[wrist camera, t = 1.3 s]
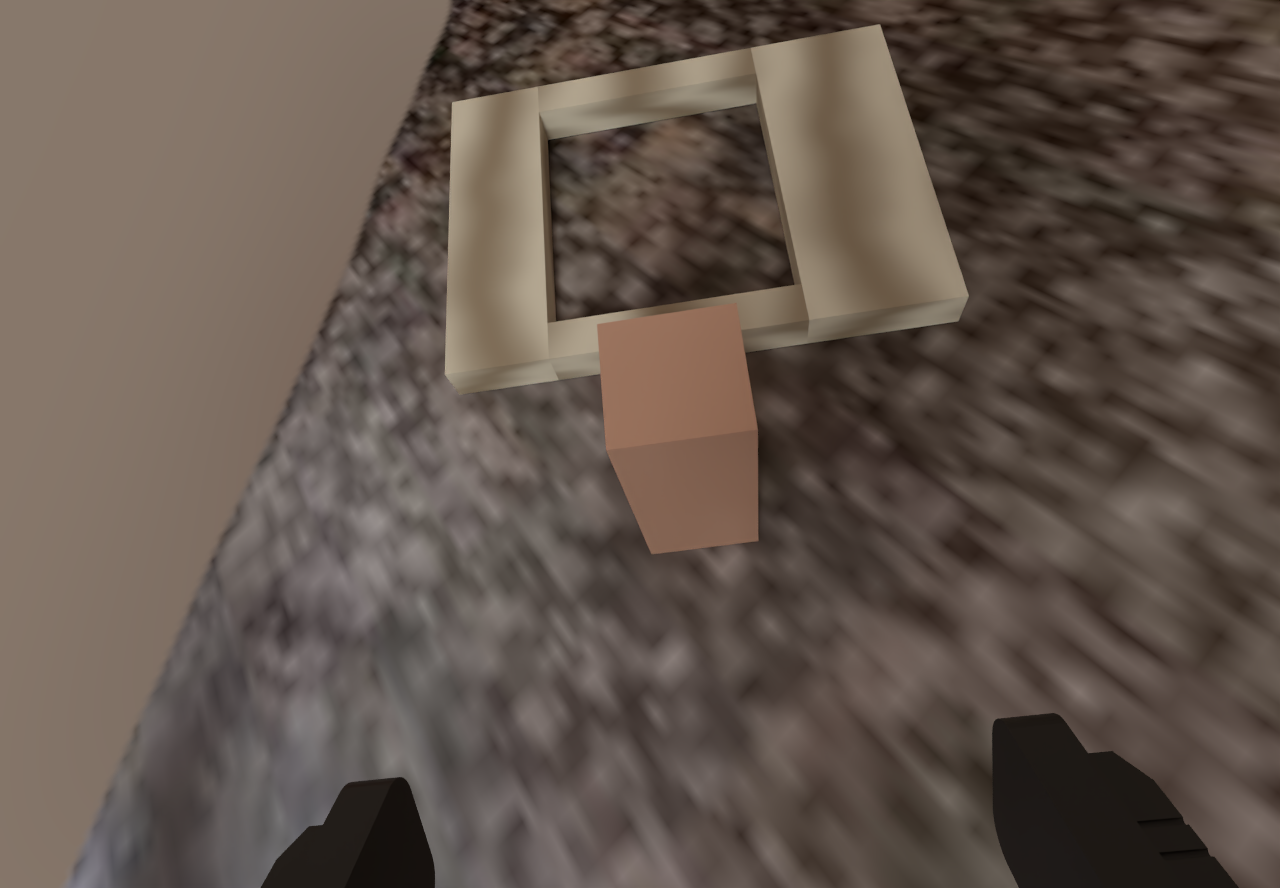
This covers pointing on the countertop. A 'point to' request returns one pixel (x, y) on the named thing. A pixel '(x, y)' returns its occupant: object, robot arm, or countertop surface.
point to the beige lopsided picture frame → (803, 182)
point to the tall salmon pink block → (682, 426)
